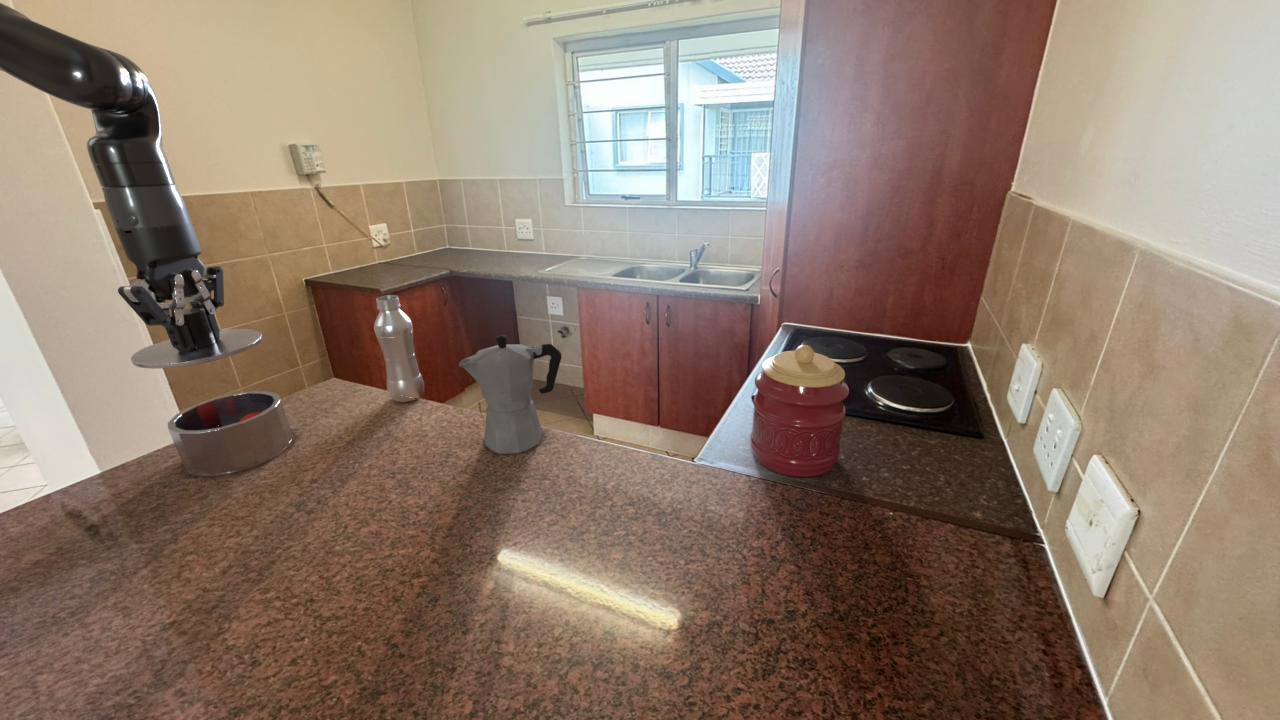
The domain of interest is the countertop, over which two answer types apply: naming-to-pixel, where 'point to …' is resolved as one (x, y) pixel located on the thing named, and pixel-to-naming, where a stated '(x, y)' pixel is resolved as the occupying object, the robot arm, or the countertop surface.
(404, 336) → the plastic bottle
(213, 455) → the saucepan
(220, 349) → the pan lid
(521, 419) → the coffeepot
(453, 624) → the countertop surface
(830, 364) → the kitchen canister
